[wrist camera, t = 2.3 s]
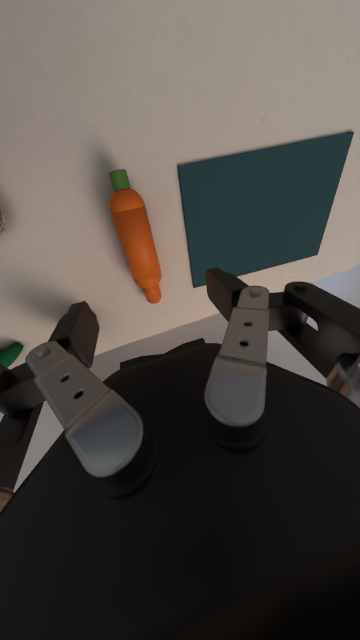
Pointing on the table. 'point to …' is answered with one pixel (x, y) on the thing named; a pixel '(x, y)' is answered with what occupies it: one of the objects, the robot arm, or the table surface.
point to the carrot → (135, 235)
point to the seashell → (2, 220)
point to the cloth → (260, 205)
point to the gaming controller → (10, 354)
